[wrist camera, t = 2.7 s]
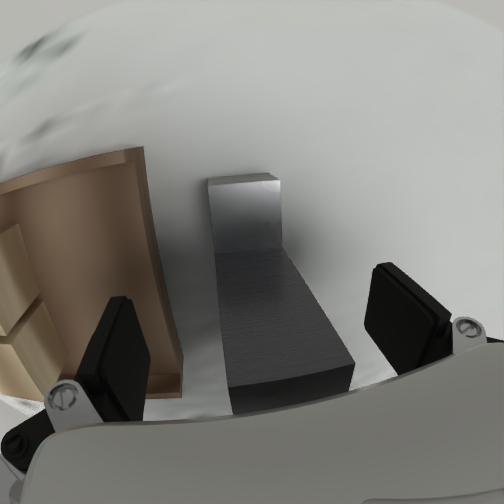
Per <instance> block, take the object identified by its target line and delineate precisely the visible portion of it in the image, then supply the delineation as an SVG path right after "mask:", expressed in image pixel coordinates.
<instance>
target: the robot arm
mask: <svg viewBox="0 0 504 504" xmlns="http://www.w3.org/2000/svg"><path fill="white" fill-rule="evenodd" d="M451 315H452V314H451V313H450V312H449V311H448V310H447V309H446V308H445V307H444V306H442V305H441V304H440V303H439V302H438V301H437V300H436V299H435V298H433V297H432V296H431V295H430V294H429V293H428V292H427V291H425V290H424V289H423V288H422V287H421V286H419V285H418V284H417V283H416V282H415V281H414V280H412V279H411V278H410V277H409V276H408V275H406V274H405V273H404V272H403V271H401V270H400V269H399V268H398V267H397V266H395V265H394V264H393V263H391V262H387V263H380V264H377V266H376V268H374V269H373V272H372V279H371V285H370V292H369V298H368V304H367V309H366V315H365V320H364V327H365V330H366V331H367V333H368V334H369V335H370V337H371V338H372V339H373V341H374V342H375V343H376V345H377V346H378V348H379V349H380V350H381V352H382V353H383V355H384V356H385V357H386V359H387V360H388V362H389V363H390V364H391V366H392V367H393V369H394V370H395V371H396V373H397V374H398V376H396V377H393V378H390V379H387V380H384V381H381V382H378V383H375V384H372V385H369V386H365V387H362V388H359V389H355V390H352V391H348V392H345V393H341V394H338V395H334V396H330V397H326V398H322V399H318V400H313V401H309V402H305V403H300V404H295V405H290V406H285V407H280V408H275V409H269V410H263V411H257V412H250V413H243V414H236V415H228V416H219V417H209V418H197V419H182V420H165V421H143V412H144V404H145V397H146V390H147V383H148V376H149V370H150V364H151V357H150V353H149V350H148V347H147V344H146V341H145V338H144V335H143V332H142V329H141V326H140V323H139V320H138V317H137V314H136V311H135V307H134V304H133V301H132V299H128V298H127V297H126V296H114V297H111V298H110V299H109V301H108V304H107V306H106V308H105V310H104V312H103V314H102V316H101V318H100V321H99V323H98V325H97V327H96V330H95V332H94V333H93V335H92V336H91V339H90V341H89V343H88V346H87V348H86V350H85V353H84V355H83V358H82V360H81V363H80V365H79V368H78V370H77V373H76V375H75V378H74V380H61V381H59V382H56V383H55V384H53V385H52V386H51V387H50V388H49V389H48V390H47V392H46V394H45V395H44V406H45V409H44V410H42V411H41V412H39V413H37V414H36V415H34V416H32V417H31V418H29V419H28V420H26V421H24V422H23V423H21V424H19V425H18V426H16V427H14V428H13V429H11V430H10V431H9V432H7V433H6V434H5V436H4V437H3V439H2V442H1V452H2V453H1V454H0V504H504V341H503V340H499V339H494V338H490V337H486V333H485V329H484V327H483V326H482V324H481V323H479V322H478V321H477V320H475V319H473V318H469V317H458V318H456V319H455V320H454V321H453V323H451V322H450V318H451Z"/></svg>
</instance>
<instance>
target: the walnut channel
mask: <svg viewBox="0 0 504 504" xmlns="http://www.w3.org/2000/svg"><path fill="white" fill-rule="evenodd" d="M16 223H19V225H20V229H21V233H22V237H23V241H24V244H25V248H26V251H27V255H28V258H29V261H30V264H31V267H32V270H33V273H34V276H35V279H36V282H37V285H38V287H39V290H40V294H39V295H38V296H37V297H36V298H35V300H34V301H42V300H43V301H44V303H45V306H46V308H47V310H48V313H49V315H50V317H51V320H52V322H53V324H54V327H55V329H56V331H57V333H58V335H59V337H60V339H61V341H62V343H63V346H64V348H65V350H66V351H67V353H68V355H69V356H68V358H67V360H66V362H65V364H64V366H63V369H62V371H61V373H60V375H59V378H58V380H57V382H59V381H61V380H74V378H75V375H76V373H77V370H78V368H79V365H80V363H81V360H82V358H83V355H84V353H85V350H86V348H87V346H88V343H89V341H90V339H91V336H92V335H93V333H94V332H95V330H96V327H97V325H98V323H99V321H100V318H101V316H102V314H103V312H104V310H105V308H106V306H107V304H108V301H109V299H110V298H111V297H114V296H126V297H127V298H128V299H132V301H133V304H134V307H135V311H136V314H137V317H138V320H139V323H140V326H141V329H142V332H143V335H144V338H145V341H146V344H147V347H148V350H149V353H150V357H151V364H150V370H149V376H148V383H147V390H146V397H145V399H167V398H182V377H183V354H182V350H181V347H180V343H179V339H178V336H177V332H176V328H175V324H174V320H173V316H172V312H171V308H170V303H169V299H168V295H167V290H166V286H165V281H164V276H163V271H162V267H161V262H160V257H159V251H158V246H157V241H156V235H155V229H154V223H153V217H152V211H151V204H150V198H149V191H148V183H147V175H146V167H145V159H144V149H143V146H142V147H136V148H130V149H125V150H120V151H115V152H110V153H105V154H100V155H96V156H91V157H87V158H83V159H79V160H75V161H71V162H67V163H63V164H60V165H56V166H53V167H49V168H46V169H42V170H39V171H36V172H32V173H29V174H26V175H23V176H20V177H17V178H14V179H11V180H8V181H5V182H3V183H0V227H4V226H7V225H12V224H16Z"/></svg>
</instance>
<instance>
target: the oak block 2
mask: <svg viewBox="0 0 504 504" xmlns="http://www.w3.org/2000/svg"><path fill="white" fill-rule="evenodd" d="M68 356H69V355H68V353H67V351H66V350H65V348H64V346H63V343H62V341H61V339H60V337H59V335H58V333H57V331H56V329H55V327H54V324H53V322H52V320H51V317H50V315H49V313H48V310H47V308H46V306H45V303H44V301H43V300H42V301H33V302H32V303H31V305H30V306H29V307H28V308H27V309H26V311H25V312H24V313H23V315H22V316H21V317H20V318H19V320H18V321H17V322H16V324H15V325H14V326H13V328H12V329H11V330H10V332H9V333H8V334H7V336H0V392H1V394H3V395H7V396H12V397H17V398H22V399H28V400H33V401H40V402H44V395H45V394H46V392H47V390H48V389H49V388H50V387H51V386H52V385H53V384H55V383H56V382H57V380H58V378H59V375H60V373H61V371H62V369H63V366H64V364H65V362H66V360H67V358H68Z"/></svg>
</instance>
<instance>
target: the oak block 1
mask: <svg viewBox="0 0 504 504" xmlns="http://www.w3.org/2000/svg"><path fill="white" fill-rule="evenodd" d="M39 294H40V290H39V287H38V285H37V282H36V279H35V276H34V273H33V270H32V267H31V264H30V261H29V258H28V255H27V251H26V248H25V244H24V241H23V237H22V233H21V229H20V225H19V223H16V224H12V225H7V226H4V227H0V336H7V334H8V333H9V332H10V330H11V329H12V328H13V326H14V325H15V324H16V322H17V321H18V320H19V318H20V317H21V316H22V315H23V313H24V312H25V311H26V309H27V308H28V307H29V306H30V305H31V303H32V302H33V301H34V300H35V298H36V297H37V296H38V295H39Z"/></svg>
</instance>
